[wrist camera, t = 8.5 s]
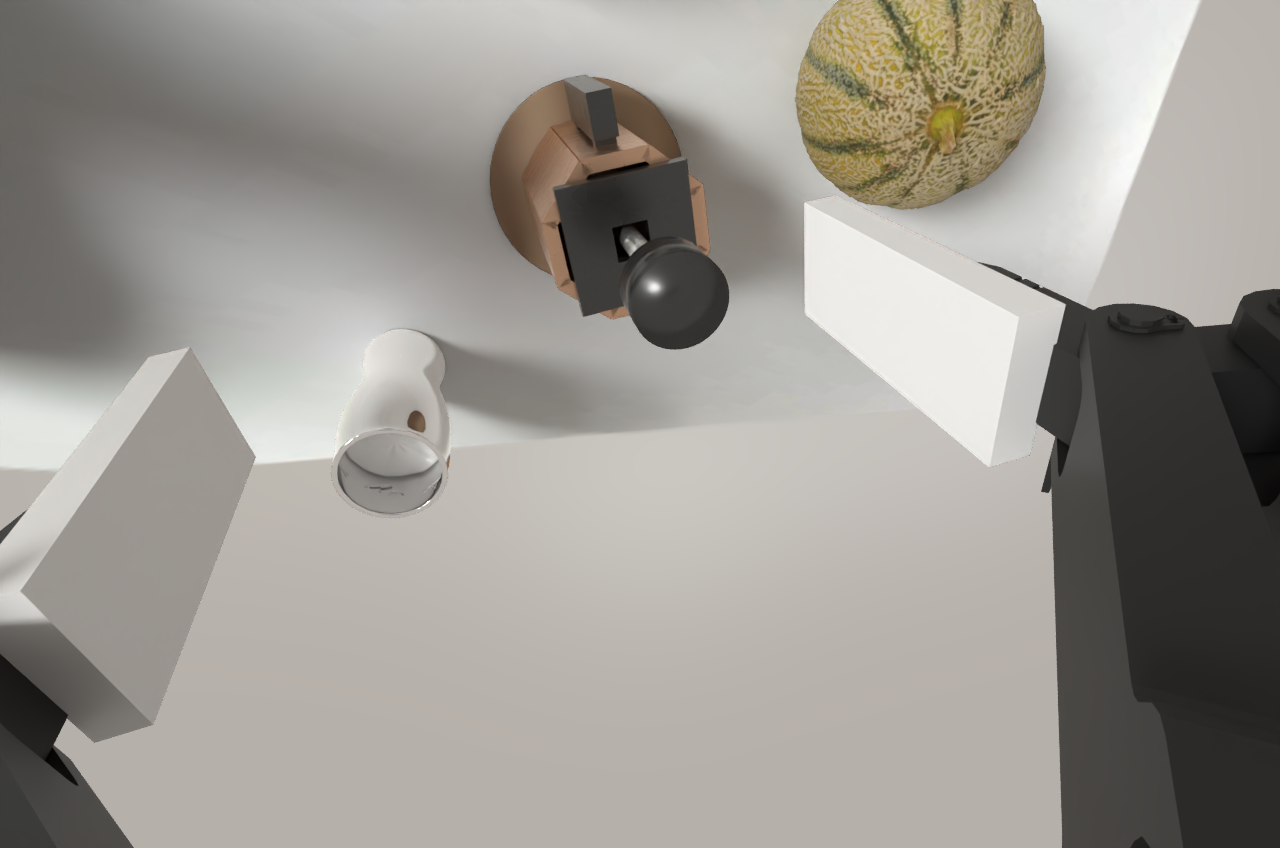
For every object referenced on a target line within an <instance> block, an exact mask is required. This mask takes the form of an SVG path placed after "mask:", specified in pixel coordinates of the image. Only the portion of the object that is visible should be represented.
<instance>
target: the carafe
mask: <svg viewBox="0 0 1280 848" xmlns="http://www.w3.org/2000/svg"><path fill="white" fill-rule="evenodd" d="M563 80H564V85H565V90H566V95H567V100H568V105H569V109H570V114H571V119H572V120H570V121H567V122H565V123H562V124H557V125H553V126H551V127H549V129H548V131H547V132H546V134H545V136H544V138H543V139H542V140H541V141H540V143H539V144H538V146H537V147H536V149H535V150H534V152H533V154H532V156H531V159H530V162H529V164H528V166H527V167H526V169H525V171H524V173H523V174H522V181H523V185H524V189H525V192H526V196H527V201H528V205H529V208H530V212H531V216H532V220H533V224H534V228H535V231H536V234H537V236H538V239H539V241H540V244H541V246H542V249H543V252H544V254H545V257H546V259H547V262H548V264H549V267H550V270H551V272H552V275H553V277H554V280H555V283H556V285H557V288H558V289H559V290H561V291H563V292H564V293H566V294H568V295H570V296H571V297H573V298H575V299H577V300H578V301H579V305H580V309H581V312H582V315H583V317H584V316H588V315H592V314H596V313H601V314H603V315H605V316H606V317H608V318H610V319H617V318H620V317H624V316H628V315H629V313H628V311H627V310H626V308H625V306H624V304H623V302H622V299H621V295H620V277H621V273H622V270H623V268H624V265H625V264H626V262H627V260H628V259H629V257H630V256H629V254H628V253H627V252H626V250H625V249H624V247H623V246H622V245H621V243H620V242H619V241H618V239H617V238H616V236H615V235H614V236H613V231H612V228H614V227H618V226H622V225H627V224H631V223H632V224H633V225H634V226H635V228H636V229H637V230H638V231H639V232H640V234H641V235H642V236H643V237H644V238H645V239H646V241H647V242H648V241H650V240H653V239H656V238H659V237H665V236H673V237H680V238H683V239H686V240H688V241H690V242H692V243H693V244H695V245H696V246H697V247H698V248H699V249H700V250H701V251H702V252H703V253H704V254H705V255H706V256H707V255H708V253H709V252H710V251H709V250H710V241H709V232H708V223H707V213H706V204H705V195H704V185H702V183H701V182H699V181H698V180H697V179H695V178H694V177H693V176H691V175H690V174H689V173H688V166H687V159H685V158H684V157H679V158H674V159H669V158H667V157H666V156H665V155H663V154H662V153H661V152H659V151H658V150H657V149H655V148H654V147H653V146H651V145H650V144H648V143H647V142H646V141H644V140H643V139H641V138H640V137H638V136H637V135H635V134H634V133H632V132H631V131H629V130H628V129H627V128H625V127H624V126H622V125H621V124H619V123H618V122H617V118H616V112H615V107H614V101H613V95H612V89H611V87H609V86H607V85H605V84H603V83H601V82H599V81H597V80H595V79H593V78H591V77H589V76H587V75H581V76H576V77H572V78H567V79H563ZM627 165H630V166H631V167H632V169H627V170H623V171H619V172H614V173H610V174H606V175H601V176H597V177H593V178H589V179H586V178H587V176H588V175H589V174H593V173H597V172H601V171H606V170H610V169H614V168H619V167H623V166H627Z"/></svg>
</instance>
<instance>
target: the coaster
mask: <svg viewBox="0 0 1280 848" xmlns="http://www.w3.org/2000/svg"><path fill="white" fill-rule="evenodd" d="M591 78H593V79H595V80H597V81H599V82H601V83H603V84H605V85H607V86H609V87H611V89H612V95H613V101H614V107H615V112H616V118H617V122H618V123H619V124H621V125H622V126H624V127H625V128H627V129H628V130H629V131H631V132H632V133H634V134H635V135H637V136H638V137H640V138H641V139H643V140H644V141H646V142H647V143H648V144H650V145H651V146H653V147H654V148H655V149H657V150H658V151H659V152H661V153H662V154H663V155H665V156H666V157H667V158H669V159H674V158H679V157H681V153H680V150H679V146H678V143H677V140H676V138H675V136H674V134H673V132H672V129H671V127H670V126H669V124H668V123H667V121H666V120H665V118H664V117H663V115H662V114H661V113H660V112H659V111H658V109H657V108H656V107H655V106H654V105H653V104H652V103H651V102H650V101H648V100H647V99H646V98H645V97H644V96H642V95H641V94H639V93H638V92H636V91H635V90H633V89H631V88H629V87H627V86H625V85H623V84H620V83H617V82H614V81H611V80H608V79H602V78H596V77H591ZM570 120H572V119H571V114H570V109H569V105H568V100H567V95H566V90H565V85H564V80H562V81H558V82H555V83H552V84H550V85H548V86H546V87H544V88H542V89H540V90H539V91H537V92H535V93H534V94H532V95H531V96H530V97H528V98H527V99H526V100H525V101H524V102H523V103H522V104H520V105H519V107H518V108H517V109H516V110H515V111H514V112H513V114H512V115H511V116H510V117H509V119H508V120H507V122H506V124H505V125H504V127H503V129H502V131H501V133H500V135H499V137H498V139H497V142H496V145H495V148H494V152H493V156H492V162H491V167H490V187H491V196H492V201H493V205H494V210H495V213H496V215H497V218H498V221H499V223H500V225H501V227H502V229H503V231H504V233H505V235H506V236H507V238H508V239H509V241H510V242H511V244H512V245H513V246H514V247H515V248H516V250H517V251H518V252H519V253H520V254H521V255H522V256H523V257H524V258H526V259H527V260H528V261H529V262H530V263H532V264H533V265H535V266H536V267H538V268H539V269H541V270H543V271H545V272H547V273H549V274H552V272H551V270H550V267H549V264H548V262H547V259H546V257H545V254H544V252H543V249H542V246H541V244H540V241H539V239H538V236H537V234H536V231H535V228H534V224H533V220H532V216H531V212H530V208H529V205H528V201H527V196H526V192H525V189H524V185H523V181H522V174H523V173H524V171H525V169H526V167H527V166H528V164H529V162H530V159H531V156H532V154H533V152H534V150H535V149H536V147H537V146H538V144H539V143H540V141H541V140H542V139H543V138H544V136H545V134H546V132H547V131H548V129H549V127H551V126H553V125H557V124H562V123H565V122H567V121H570Z"/></svg>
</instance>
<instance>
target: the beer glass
mask: <svg viewBox="0 0 1280 848" xmlns="http://www.w3.org/2000/svg"><path fill="white" fill-rule="evenodd" d="M362 367H363V374H364V378H363V380H362V381H361V383H360V384H359V385H358V387H357V388H356V390H355V391H354V393H353V394H352V395H351V397H350V399H349V401H348V402H347V404H346V406H345V408H344V410H343V413H342V415H341V418H340V421H339V424H338V428H337V433H336V438H335V445H334V454H333V462H332V467H331V477H332V482H333V485H334V488H335V489H336V491H337V493H338V494H339V496H340V497H341V498H342V499H343V500H344V501H345V502H346V503H347V504H348V505H350V506H351V507H352V508H354V509H356V510H358V511H360V512H362V513H364V514H367V515H370V516H375V517H380V518H401V517H406V516H410V515H413V514H416V513H419V512H421V511H423V510H424V509H426V508H428V507H429V506H431V505H432V504H433V503H434V502H435V501H436V500H437V499H438V498H439V497H440V496H441V494H442V493H443V491H444V489H445V486H446V484H447V479H448V467H449V461H450V453H451V424H450V419H449V415H448V410H447V407H446V404H445V401H444V398H443V396H442V393H441V390H440V385H441V383H442V380H443V378H444V374H445V360H444V356H443V354H442V352H441V350H440V348H439V347H438V346H437V344H436V343H435V342H434V341H433V340H432V339H430V338H429V337H427V336H426V335H424V334H422V333H420V332H417V331H413V330H408V329H395V330H390V331H387V332H384V333H382V334H380V335H378V336H377V337H375V338H374V339H373V340H372V341H371V342H370V343H369V345H368V346H367V348H366V350H365V352H364V355H363V361H362Z"/></svg>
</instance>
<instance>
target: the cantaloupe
mask: <svg viewBox="0 0 1280 848" xmlns="http://www.w3.org/2000/svg"><path fill="white" fill-rule="evenodd" d="M1045 69H1046V67H1045V61H1044V26H1043V25H1042V22H1041V17H1040V15H1039V14H1038V12H1037V8H1036V4H1035V3H1034V1H1033V0H838V1H837V3H836V4H835V5H834V6H833V7H832V8H831V9H830V10H829V11H828V12H827V13H826V14H825V15H824V17H823V19H822V20H821V21H820V23H819V24H818V26H817V27H816V29H815V31H814V33H813V35H812V38H811V40H810V43H809V47H808V49H807V51H806V53H805V56H804V58H803V60H802V62H801V67H800V71H799V76H798V83H797V88H796V98H795V101H796V107H797V116H798V121H799V124H800V127H801V132H802V138H803V143H804V145H805V147H806V149H807V153H808V154H809V156H810V159H811V160H812V162H813V163H814V165H815V166H816V168H817V169H818V171H819V172H820V173H821V174H822V175H823V176H824V177H825V178H827V179H828V180H830V181H831V182H832V183H833V184H834V185H835V186H836V187H837V188H839V190H840V191H843V192H844V193H845V194H847V195H848V196H849V197H853V198H854V199H856V200H857V201H859V202H863V203H865V204H870V205H881V206H889V207H891V208H895V209H908V208H909V209H914V208H922V207H926V206H929V205H933V204H936V203H939V202H942V201H944V200H945V199H947V198H949V197H950V196H952V195H954V194H956V193H958V192H960V191H962V190H964V189H969V188H970V187H973V186H974V185H976V184H978V183H980V182H982V181H984V180H985V179H986V178H987V177H988V176H989V175H990V174H991V173H992V172H994V171H995V170H996V169H997V168H998V167H999V166H1000V165H1001V164H1002V163H1003V162H1004V160H1005V159H1006V158H1007V157H1008V156H1009V155H1010V153H1011V152H1012V151H1013V150H1014V149H1015V148H1016V147H1017V146H1018V143H1019V140H1020V139H1021V137H1022V136H1023V135H1024V134H1025V133H1026V131H1027V130H1028V129H1029V127H1030V125H1031V122H1032V120H1033V117H1034V116H1035V114H1036V112H1037V109H1038V106H1039V102H1040V99H1041V95H1042V91H1043V88H1044V85H1043V84H1044V80H1045Z"/></svg>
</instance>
